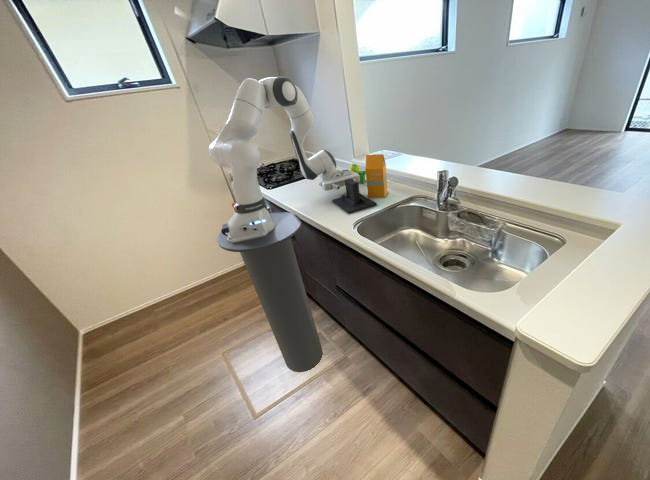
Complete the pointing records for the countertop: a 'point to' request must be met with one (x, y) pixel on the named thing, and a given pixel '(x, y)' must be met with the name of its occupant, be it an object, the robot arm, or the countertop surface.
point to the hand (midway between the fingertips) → (346, 185)
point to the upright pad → (352, 190)
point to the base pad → (351, 205)
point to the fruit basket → (358, 172)
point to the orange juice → (376, 176)
